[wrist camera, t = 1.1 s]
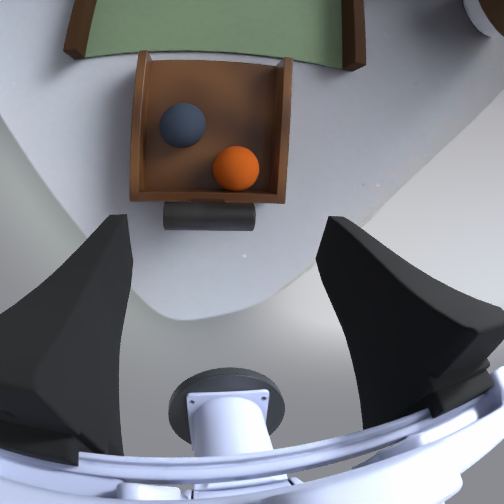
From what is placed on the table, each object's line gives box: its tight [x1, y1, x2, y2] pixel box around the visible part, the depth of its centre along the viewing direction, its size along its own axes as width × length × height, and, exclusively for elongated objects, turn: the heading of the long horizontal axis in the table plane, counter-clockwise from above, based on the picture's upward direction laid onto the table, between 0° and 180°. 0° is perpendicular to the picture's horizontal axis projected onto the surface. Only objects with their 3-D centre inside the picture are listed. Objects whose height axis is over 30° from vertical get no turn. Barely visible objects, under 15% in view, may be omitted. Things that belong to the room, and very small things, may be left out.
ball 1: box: [159, 103, 206, 148], centre depth 18 cm, size 3×3×3 cm
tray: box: [130, 50, 293, 231], centre depth 18 cm, size 11×10×6 cm
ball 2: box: [213, 146, 259, 191], centre depth 20 cm, size 3×3×3 cm
